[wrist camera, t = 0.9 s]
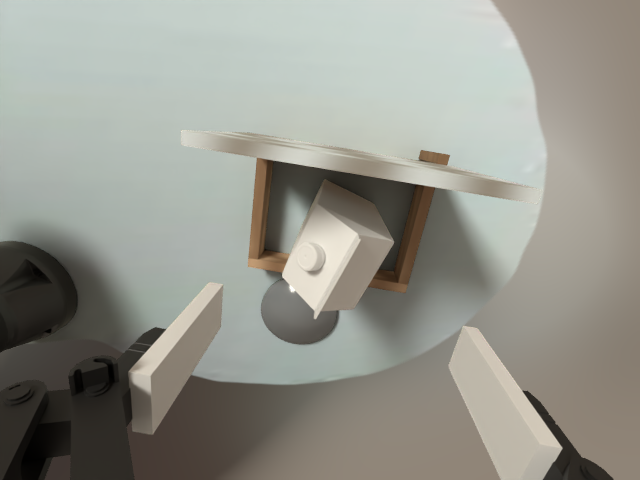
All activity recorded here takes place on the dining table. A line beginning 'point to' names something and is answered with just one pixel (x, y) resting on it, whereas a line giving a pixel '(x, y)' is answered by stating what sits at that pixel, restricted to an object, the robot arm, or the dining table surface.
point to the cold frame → (360, 164)
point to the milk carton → (337, 250)
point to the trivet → (293, 315)
